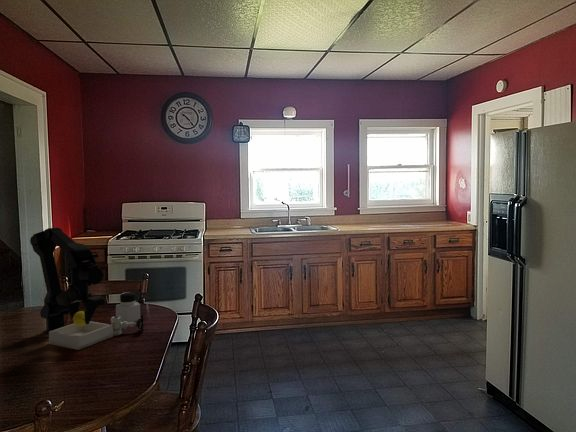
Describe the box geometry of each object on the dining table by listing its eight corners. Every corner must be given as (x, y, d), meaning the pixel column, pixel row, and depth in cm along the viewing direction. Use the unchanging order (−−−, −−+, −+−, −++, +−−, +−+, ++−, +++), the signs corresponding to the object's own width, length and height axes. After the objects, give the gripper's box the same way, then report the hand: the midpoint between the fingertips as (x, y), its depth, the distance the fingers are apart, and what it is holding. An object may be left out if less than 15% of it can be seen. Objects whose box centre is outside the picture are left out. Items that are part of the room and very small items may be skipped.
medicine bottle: (140, 320, 185) (140, 292, 184) (126, 324, 179) (125, 295, 178) (130, 317, 189) (129, 290, 188) (115, 321, 183) (115, 293, 182)
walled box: (49, 343, 157) (48, 331, 157) (84, 331, 170) (83, 320, 170) (78, 350, 151) (78, 337, 150) (112, 336, 164) (112, 325, 164)
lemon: (71, 326, 161) (70, 311, 161) (87, 323, 164) (86, 309, 165) (75, 328, 156) (74, 313, 156) (91, 325, 159) (90, 310, 159)
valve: (110, 337, 164) (143, 333, 168) (109, 320, 163) (143, 317, 167) (110, 332, 170) (143, 328, 174) (110, 315, 169) (142, 312, 174)
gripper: (42, 282, 156) (43, 325, 157) (79, 287, 148) (80, 332, 149) (69, 277, 166) (70, 317, 167) (105, 281, 158) (106, 323, 159)
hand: (81, 322), depth 160 cm, fingers closed on lemon, 6 cm apart
